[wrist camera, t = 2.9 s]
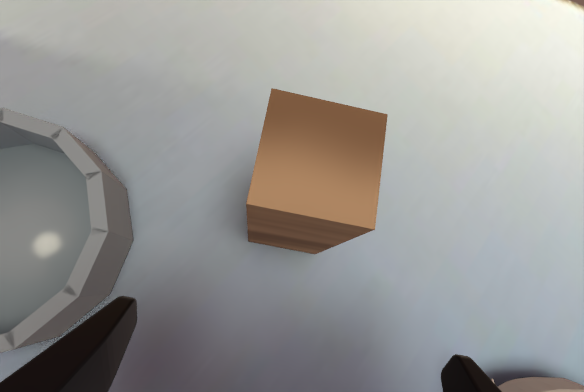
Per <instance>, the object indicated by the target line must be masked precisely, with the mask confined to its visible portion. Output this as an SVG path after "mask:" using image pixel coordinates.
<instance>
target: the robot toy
mask: <svg viewBox="0 0 584 392" xmlns="http://www.w3.org/2000/svg"><path fill="white" fill-rule="evenodd" d="M491 380H492V381H493V382H494V380H493V379H491ZM498 388H499V389H500V390H501V391H502V392H584V386H583V385H580V384H578V383H575V382H572V381H570V380H567V379H565V378H549V377H528V378H519V379H513V380H510V381H507V382H505V383H503V384H501V385H500V386H498Z"/></svg>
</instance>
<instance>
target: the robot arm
mask: <svg viewBox="0 0 584 392" xmlns="http://www.w3.org/2000/svg"><path fill="white" fill-rule="evenodd" d="M136 322H137V302H136V299H135V298H131V297H125V296H120V297H118V298H116V299H115V300H113V301H112V302H111V303H109V304H108V305H106V306H105V307H104V308H102V309H101V310H100V311H98V312H97V313H95V314H94V315H93V316H91V317H90V318H89V319H87V320H86V321H84V322H83V323H82V324H80V325H79V326H78V327H76V328H75V329H73V330H72V331H71V332H69V333H68V334H66V335H65V336H64V337H62V338H61V339H60V340H58V341H57V342H55V343H54V344H53V345H51V346H50V347H49V348H47V349H46V350H44V351H43V352H42V353H40V354H39V355H38V356H36V357H35V358H33V359H32V360H31V361H29V362H28V363H27V364H25V365H24V366H22V367H21V368H20V369H18V370H17V371H16V372H14V373H13V374H11V375H10V376H9V377H7V378H6V379H5V380H3V381H2V382H0V392H108V390H109V388H110V386H111V384H112V382H113V380H114V377H115V375H116V373H117V370H118V368H119V365H120V363H121V360H122V358H123V356H124V353H125V351H126V348H127V346H128V343H129V341H130V338H131V336H132V334H133V331H134V329H135V326H136ZM441 382H442V388H443V392H502V391H501V390H500V389H499V388H498V387H497V386H496V385H495V383H494V382H493V381H492V380H491V379H490V378H489V377H488V376H487V375H486V374H485V373H484V372H483V370H482V369H481V368H480V367H479V366H478V365H477V364H476V363H475V362H474V361H473V360H472V359H471V358H470V357H468V356H463V355H458V354H455V355H453V356H452V357H451V359H450V360H449V361H448V363H447V364H446V365H445V367H444V368H443V370H442V372H441Z"/></svg>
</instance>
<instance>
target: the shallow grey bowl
mask: <svg viewBox="0 0 584 392" xmlns="http://www.w3.org/2000/svg"><path fill="white" fill-rule="evenodd" d="M132 242H133V234H132V226H131V219H130V211H129V203H128V196H127V189H126V188H125V187H124V186H123V185H122V184H121V183H120V181H119V180H118V179H117V178H116V177H115V176H114V175H113V173H112V172H111V171H110V170H109V169H108V168H107V167H106V165H105V164H104V163H103V162H102V161H101V160H100V159H99V157H98V156H97V155H96V154H95V153H94V152H93V151H92V150H91V149H89V148H88V147H87V146H86V145H84V144H83V143H82V142H81V141H80V140H78V139H77V138H76V137H75V136H74V135H72V134H71V133H70V132H69V131H67V130H66V129H65V128H64V127H61V126H58V125H55V124H52V123H49V122H46V121H43V120H39V119H36V118H33V117H30V116H27V115H24V114H21V113H18V112H14V111H11V110H8V109H5V108H0V353H1V352H5V351H9V350H13V349H17V348H21V347H24V346H28V345H31V344H34V343H38V342H41V341H45V340H48V339H52V338H55V337H59V336H60V335H62V334H63V333H64V332H65V331H66V330H68V329H69V328H70V327H71V326H72V325H74V324H75V323H76V322H77V321H78V320H79V319H81V318H82V317H83V316H84V315H85V314H87V313H88V312H89V311H90V310H91V309H93V308H94V307H95V306H96V305H97V304H99V303H100V302H101V301H102V300H103V299H105V298H106V297H107V296H108V295H109V294H110V293H111V291H112V288H113V286H114V284H115V281H116V279H117V277H118V275H119V272H120V270H121V268H122V265H123V263H124V261H125V258H126V256H127V254H128V251H129V249H130V247H131V244H132Z"/></svg>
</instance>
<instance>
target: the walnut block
mask: <svg viewBox="0 0 584 392" xmlns="http://www.w3.org/2000/svg"><path fill="white" fill-rule="evenodd" d="M386 123H387V114H383V113H379V112H374V111H370V110H365V109H361V108H356V107H352V106H348V105H343V104H339V103H334V102H330V101H326V100H321V99H317V98H312V97H308V96H303V95H299V94H295V93H290V92H286V91H281V90H277V89H271V94H270V98H269V103H268V107H267V112H266V117H265V121H264V126H263V130H262V135H261V139H260V144H259V148H258V153H257V157H256V162H255V166H254V171H253V176H252V180H251V185H250V189H249V194H248V198H247V203H246V208H247V225H248V241H249V242H254V243H259V244H265V245H270V246H275V247H280V248H285V249H291V250H296V251H301V252H306V253H312V254H317V253H319V252H322V251H324V250H326V249H329V248H331V247H334V246H336V245H338V244H341V243H343V242H346V241H348V240H351V239H353V238H355V237H358V236H360V235H363V234H365V233H367V232H370V231H372V230H375V223H376V214H377V205H378V196H379V187H380V178H381V168H382V159H383V150H384V141H385V132H386Z"/></svg>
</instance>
